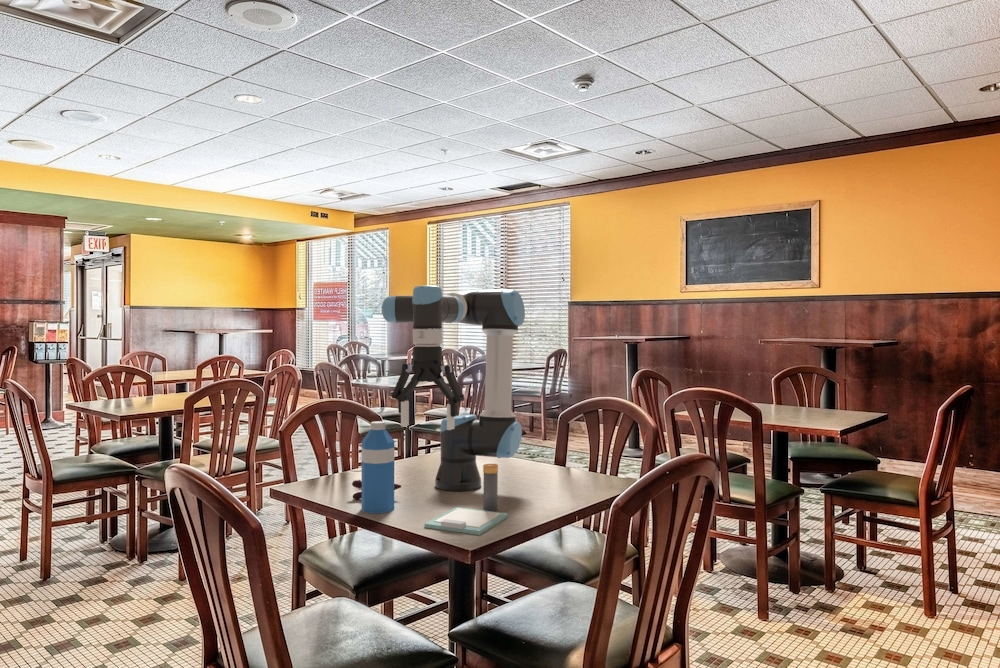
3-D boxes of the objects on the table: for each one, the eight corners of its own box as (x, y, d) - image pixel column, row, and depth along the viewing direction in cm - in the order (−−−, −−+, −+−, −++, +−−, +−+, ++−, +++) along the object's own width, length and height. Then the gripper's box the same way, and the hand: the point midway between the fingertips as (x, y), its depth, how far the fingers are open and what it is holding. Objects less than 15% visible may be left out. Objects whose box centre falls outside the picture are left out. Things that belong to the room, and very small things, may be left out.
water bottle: (396, 504, 200) (396, 420, 199) (392, 513, 190) (392, 424, 190) (364, 505, 199) (364, 420, 199) (358, 513, 190) (358, 424, 190)
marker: (486, 508, 197) (486, 463, 196) (500, 509, 195) (500, 464, 195) (480, 511, 193) (480, 465, 193) (494, 513, 191) (494, 467, 191)
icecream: (402, 474, 211) (354, 479, 211) (399, 473, 204) (349, 478, 204) (403, 497, 209) (355, 502, 209) (400, 497, 202) (349, 502, 202)
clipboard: (455, 510, 194) (455, 502, 194) (507, 516, 187) (507, 508, 187) (424, 527, 177) (424, 519, 177) (479, 535, 171) (479, 526, 171)
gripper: (378, 345, 177) (378, 426, 177) (463, 346, 167) (463, 433, 167) (394, 344, 184) (394, 422, 184) (477, 345, 174) (477, 428, 174)
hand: (427, 427), depth 176 cm, fingers open, 13 cm apart
